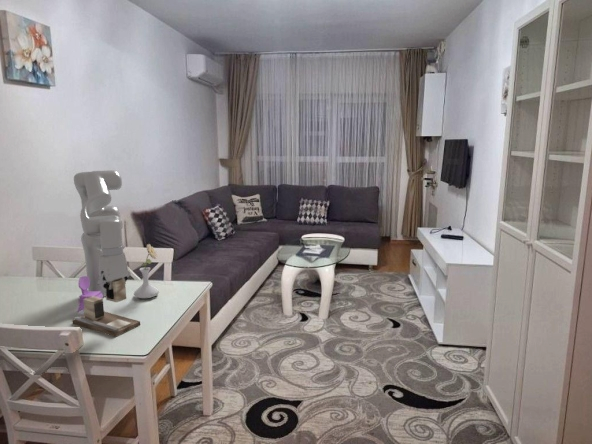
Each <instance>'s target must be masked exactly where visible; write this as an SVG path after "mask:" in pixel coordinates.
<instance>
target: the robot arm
mask: <svg viewBox="0 0 592 444" xmlns="http://www.w3.org/2000/svg"><path fill="white" fill-rule="evenodd" d="M73 184H74V187H75V189H76V191H77V193H78V194H79V197H80V201H81V202H80V203H81V209H80V213H79V214H80V215H79V216H80V222H81V227H82V231H83V233H82V234H81V237H80V238H81V240H80V241H81V245H82V248H83V253H84V259H85V269H86V272H85V273H86V276H87V277H89V279H90V286H89V287H88V289H87V290H88V291H101V293H102V295H103V298H104V297H106V293H107V298H109V299H114V293H113V289H112V282H113V281H115V280H118V279H125V285H126V282H127V281H128V279H129V277H130V276H131V272H130V271H129V270H128V269H129V268H128V262H127V257H126V254H125V252H124V249H125V247H126V246H125V245H123V232H122V229H123V220H122V218H121V214H120V213H121V212H120V210H119V209H118V208H117V206H114V205H110V203H111V201H112V195H111V192H110V191H112V190H113V191H115V190H117V191H118V190H120V189H121V188H122V185H123V181H122V177H121V174H120V173H119V172H118V171H117V170H91V171H82V172H78V173H75V175H74V176H73ZM108 283H109V285H108ZM105 289H106V291H105Z"/></svg>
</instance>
